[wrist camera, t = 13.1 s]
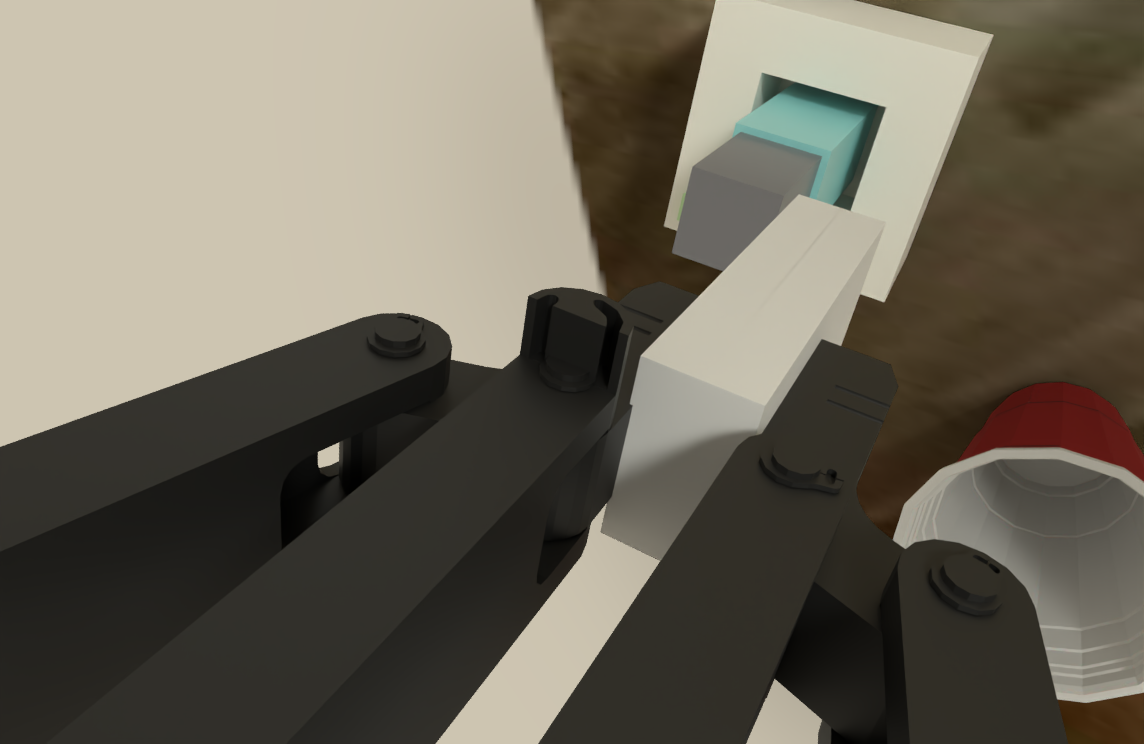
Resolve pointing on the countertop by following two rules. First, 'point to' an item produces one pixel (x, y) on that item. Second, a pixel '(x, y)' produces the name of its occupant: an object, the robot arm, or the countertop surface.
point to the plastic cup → (1055, 528)
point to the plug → (771, 170)
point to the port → (851, 68)
